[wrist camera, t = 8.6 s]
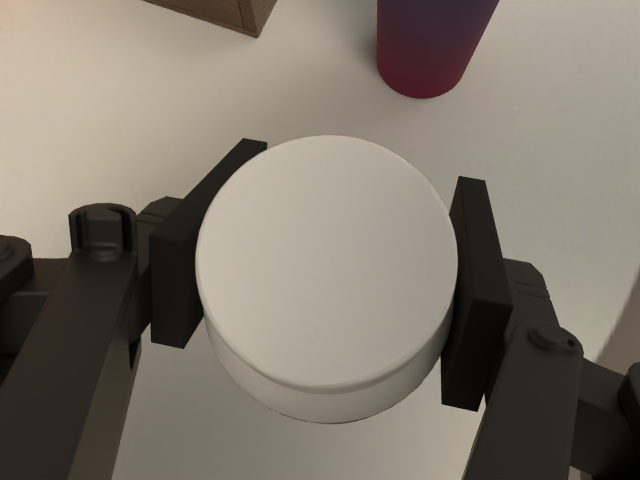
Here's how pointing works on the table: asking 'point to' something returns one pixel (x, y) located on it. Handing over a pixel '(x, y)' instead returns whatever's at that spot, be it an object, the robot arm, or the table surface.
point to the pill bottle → (327, 278)
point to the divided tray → (225, 12)
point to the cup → (428, 42)
